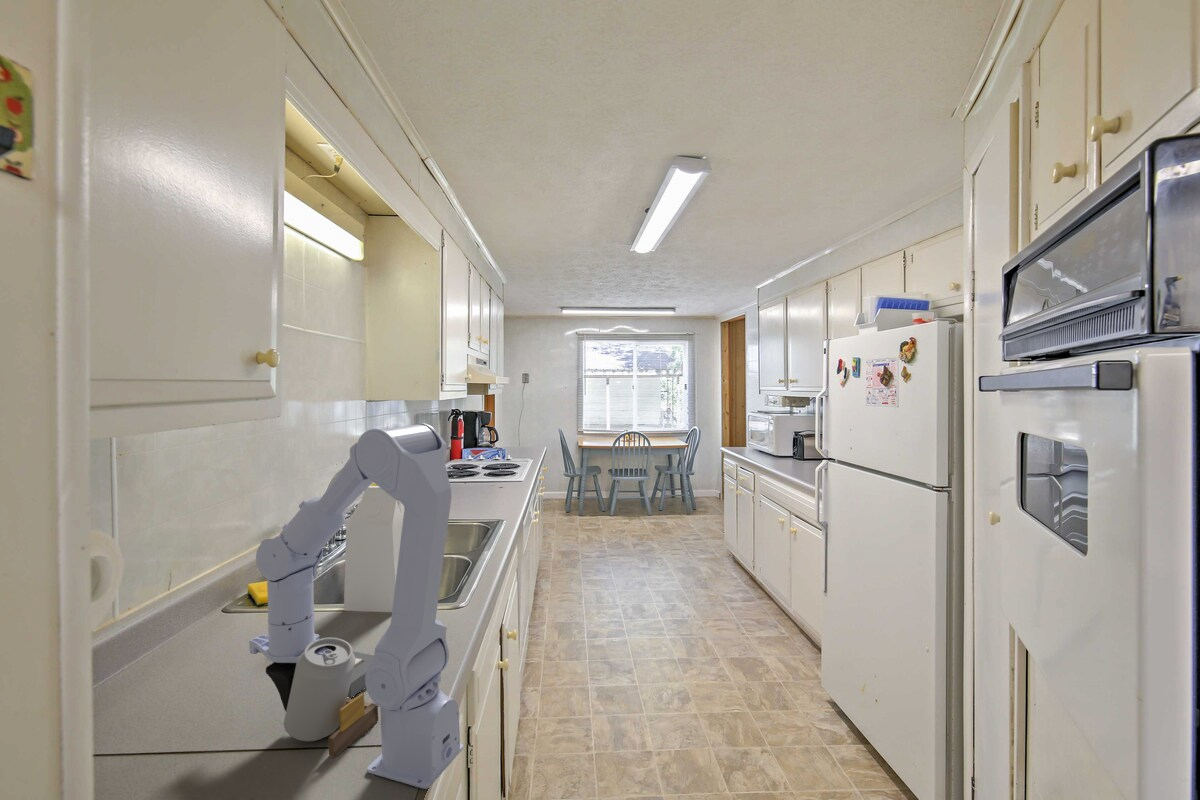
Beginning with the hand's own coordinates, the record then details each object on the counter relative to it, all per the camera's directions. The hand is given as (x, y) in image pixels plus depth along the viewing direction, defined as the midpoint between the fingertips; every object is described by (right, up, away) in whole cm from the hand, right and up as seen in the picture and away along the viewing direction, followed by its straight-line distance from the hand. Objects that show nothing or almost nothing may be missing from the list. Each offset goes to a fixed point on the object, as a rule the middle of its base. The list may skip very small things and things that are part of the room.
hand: (293, 708), depth 78 cm
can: (+3, -2, -1) cm, 4 cm away
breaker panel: (+2, -2, +12) cm, 13 cm away
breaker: (+2, -2, +12) cm, 12 cm away
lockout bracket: (+6, -3, -1) cm, 6 cm away
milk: (-5, -1, +44) cm, 45 cm away
